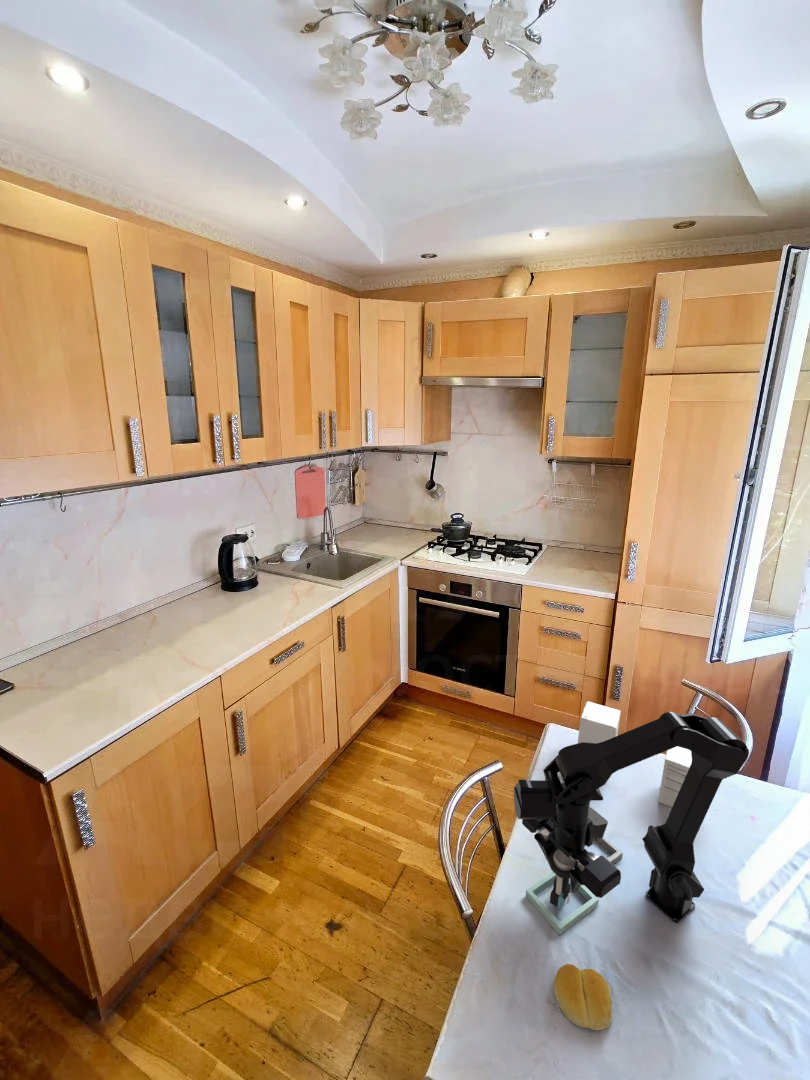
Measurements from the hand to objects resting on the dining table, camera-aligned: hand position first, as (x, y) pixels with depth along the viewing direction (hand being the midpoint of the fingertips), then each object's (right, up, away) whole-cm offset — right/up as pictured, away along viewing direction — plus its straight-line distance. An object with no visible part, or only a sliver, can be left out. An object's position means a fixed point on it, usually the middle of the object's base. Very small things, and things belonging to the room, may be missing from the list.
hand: (564, 880), depth 93 cm
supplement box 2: (+36, +1, +26) cm, 44 cm away
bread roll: (-2, -10, -14) cm, 17 cm away
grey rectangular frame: (+9, -2, +11) cm, 14 cm away
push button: (0, -4, +1) cm, 4 cm away
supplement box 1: (+21, +5, +39) cm, 44 cm away
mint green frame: (0, -5, +1) cm, 5 cm away
